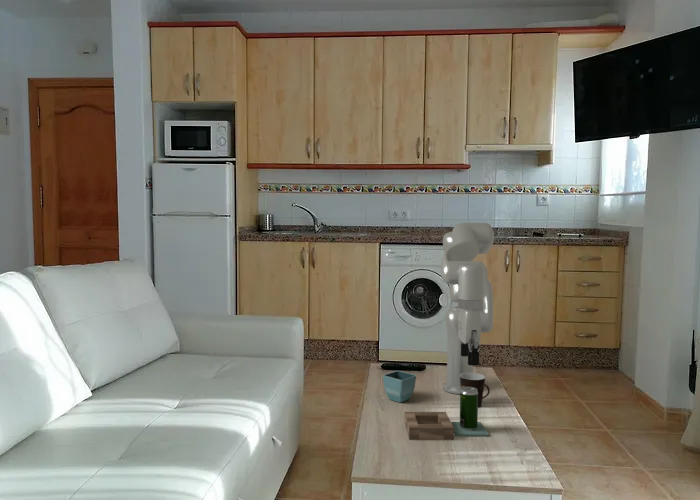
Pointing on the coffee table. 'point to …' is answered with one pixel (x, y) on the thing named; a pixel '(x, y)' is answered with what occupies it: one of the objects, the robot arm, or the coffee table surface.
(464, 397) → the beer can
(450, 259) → the robot arm
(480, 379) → the coffee mug
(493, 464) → the coffee table surface
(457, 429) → the rubber pad
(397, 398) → the flower pot
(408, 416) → the holder block
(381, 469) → the coffee table surface
